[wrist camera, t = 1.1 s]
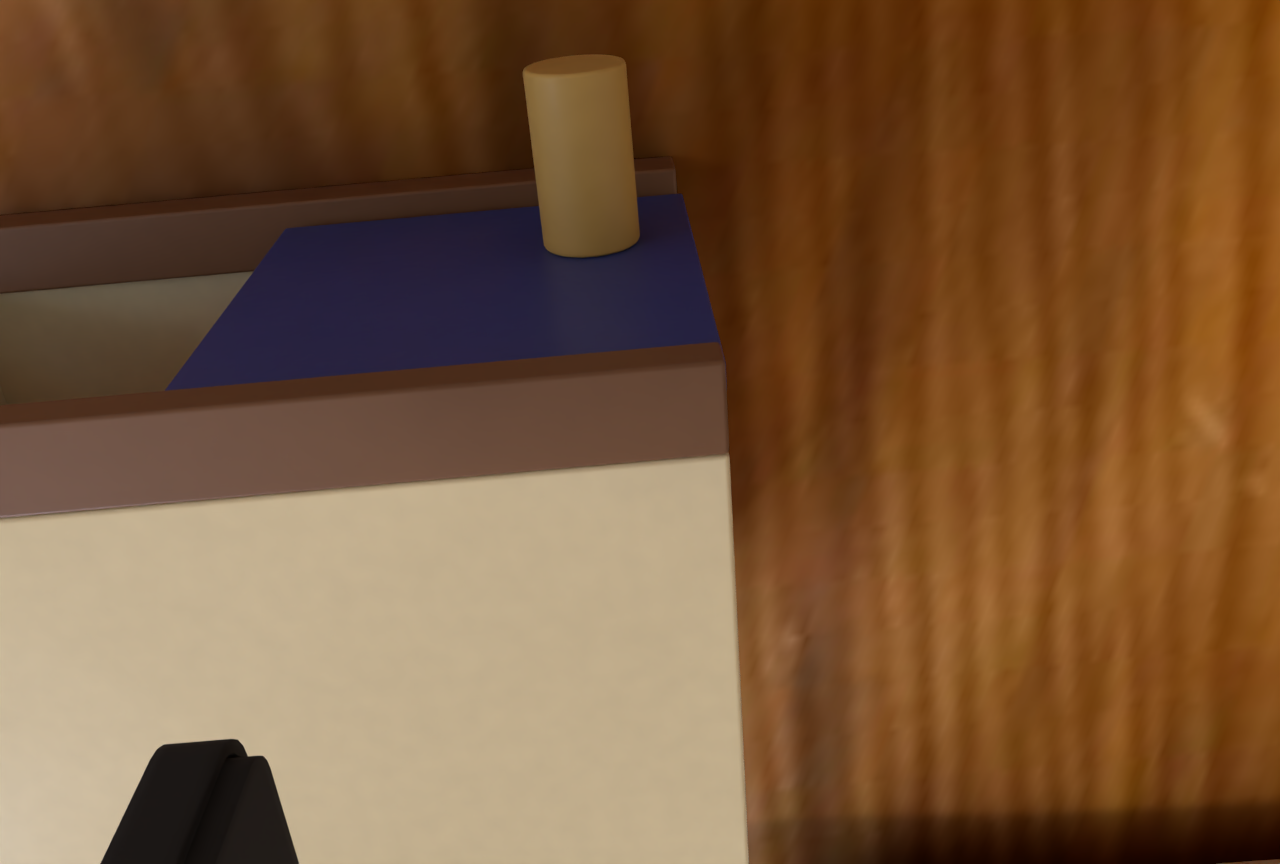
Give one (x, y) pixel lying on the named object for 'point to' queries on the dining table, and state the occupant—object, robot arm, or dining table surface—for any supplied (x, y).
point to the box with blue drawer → (357, 562)
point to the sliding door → (482, 265)
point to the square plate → (1256, 862)
